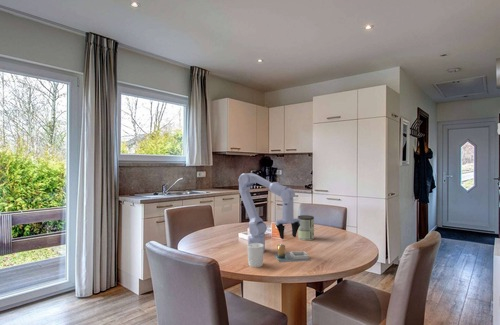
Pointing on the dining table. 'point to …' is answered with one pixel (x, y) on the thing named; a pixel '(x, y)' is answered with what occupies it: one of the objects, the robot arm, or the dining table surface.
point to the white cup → (255, 254)
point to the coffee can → (306, 227)
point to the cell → (281, 251)
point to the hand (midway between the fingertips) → (288, 237)
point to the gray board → (294, 257)
